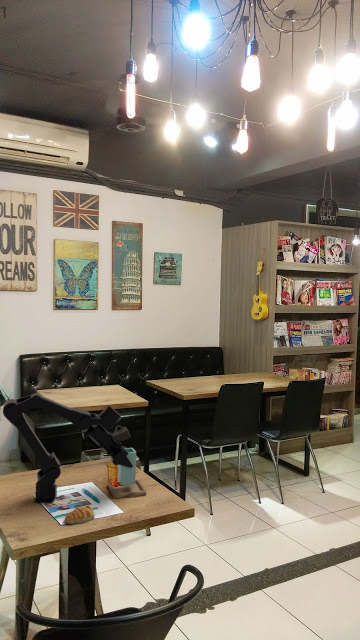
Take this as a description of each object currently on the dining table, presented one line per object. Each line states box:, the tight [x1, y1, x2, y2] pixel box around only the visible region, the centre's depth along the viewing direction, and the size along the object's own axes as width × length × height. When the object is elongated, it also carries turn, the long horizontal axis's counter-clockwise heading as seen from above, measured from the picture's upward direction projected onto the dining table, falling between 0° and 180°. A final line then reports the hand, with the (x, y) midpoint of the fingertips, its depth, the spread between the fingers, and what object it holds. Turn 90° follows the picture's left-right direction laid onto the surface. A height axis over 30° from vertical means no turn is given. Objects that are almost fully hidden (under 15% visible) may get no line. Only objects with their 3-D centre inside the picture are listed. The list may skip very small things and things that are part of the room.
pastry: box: [64, 504, 96, 525], centre depth 159 cm, size 9×7×4 cm
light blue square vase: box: [117, 447, 137, 485], centre depth 183 cm, size 6×6×12 cm
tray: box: [107, 479, 147, 500], centre depth 183 cm, size 12×12×2 cm
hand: (130, 464), depth 183 cm, fingers closed on light blue square vase, 5 cm apart
